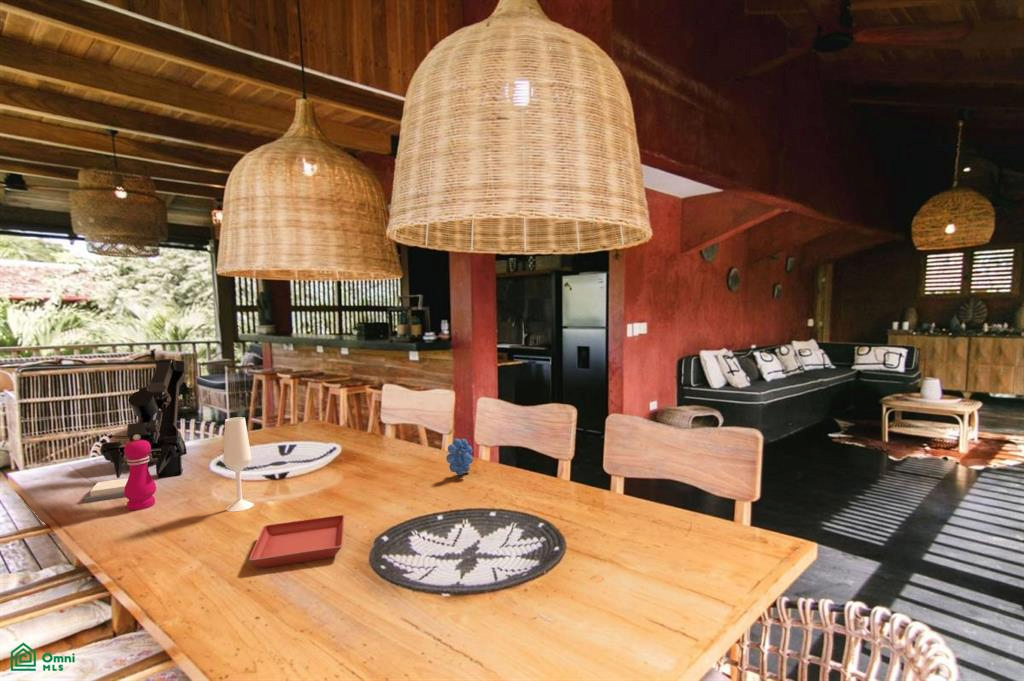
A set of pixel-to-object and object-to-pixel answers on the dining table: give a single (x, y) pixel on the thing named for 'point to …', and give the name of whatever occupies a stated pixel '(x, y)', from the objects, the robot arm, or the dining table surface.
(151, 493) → the pepper mill
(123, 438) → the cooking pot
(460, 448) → the grapes
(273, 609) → the dining table surface
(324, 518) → the plant saucer
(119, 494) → the grey square coaster
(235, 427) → the champagne flute
